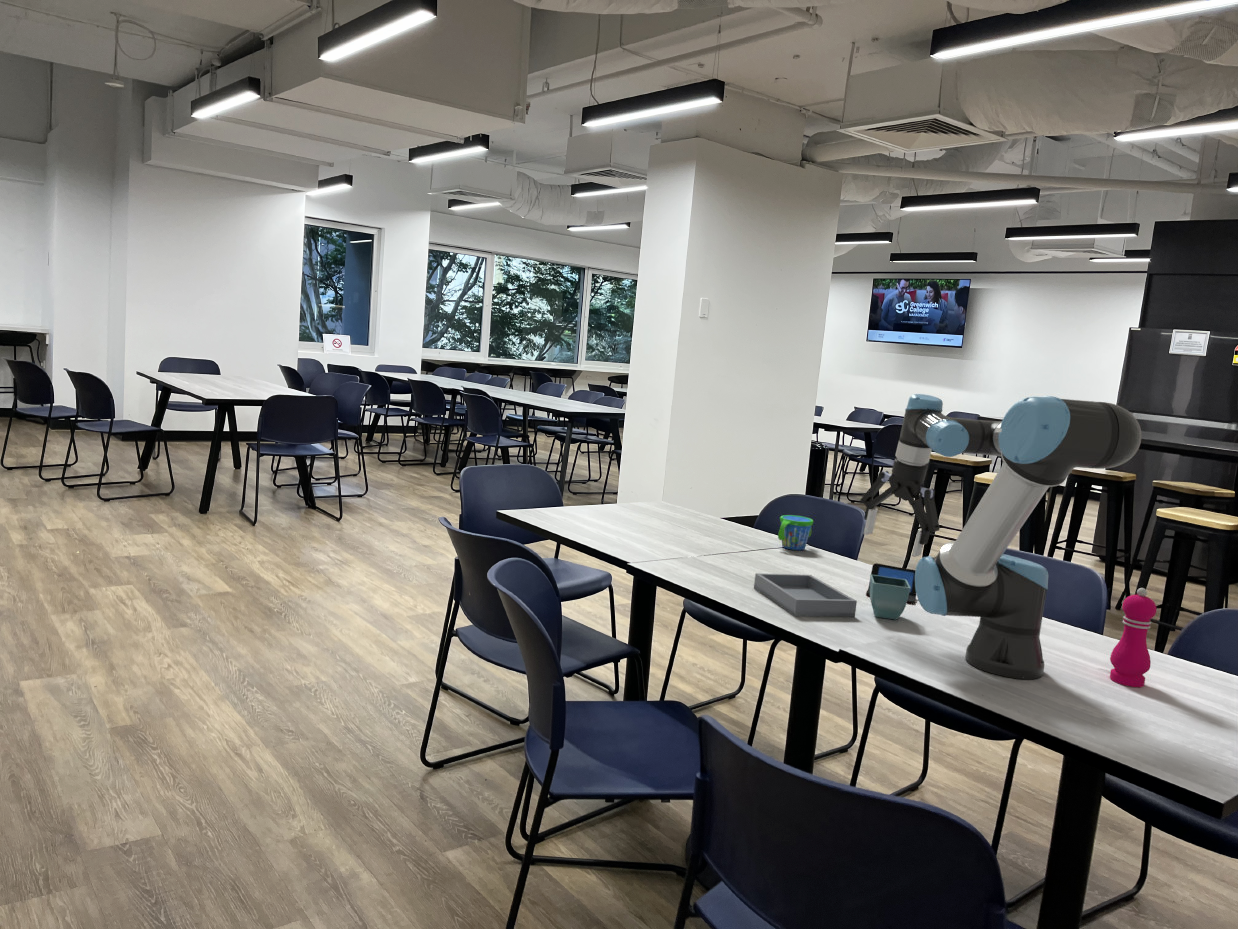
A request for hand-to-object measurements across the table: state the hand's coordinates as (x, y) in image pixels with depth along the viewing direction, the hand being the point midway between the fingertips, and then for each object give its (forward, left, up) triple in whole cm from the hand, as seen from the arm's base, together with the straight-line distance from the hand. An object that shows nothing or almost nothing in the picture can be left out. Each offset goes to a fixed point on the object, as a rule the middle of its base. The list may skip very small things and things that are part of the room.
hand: (891, 544), depth 208 cm
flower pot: (+2, -3, -19) cm, 19 cm away
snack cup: (+75, -13, -19) cm, 79 cm away
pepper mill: (-41, -33, -19) cm, 55 cm away
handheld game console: (+20, -16, -19) cm, 32 cm away
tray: (+13, +14, -18) cm, 27 cm away
